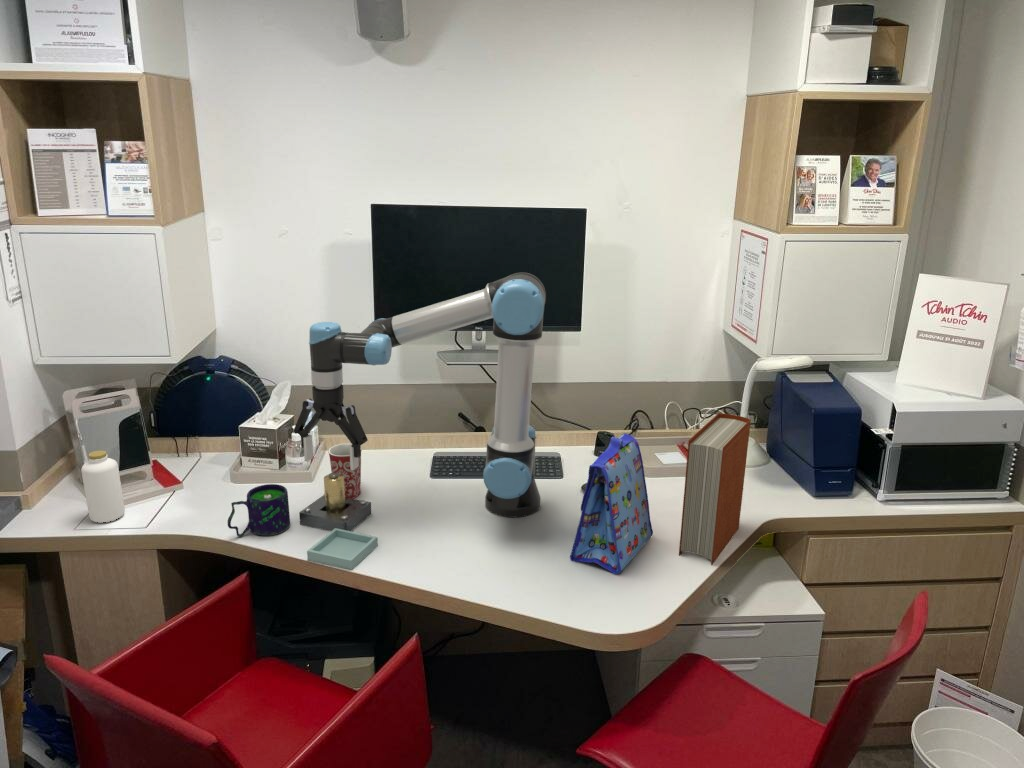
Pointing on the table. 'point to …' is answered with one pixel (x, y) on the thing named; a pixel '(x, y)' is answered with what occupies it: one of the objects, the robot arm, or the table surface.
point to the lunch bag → (614, 508)
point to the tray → (342, 548)
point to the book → (714, 485)
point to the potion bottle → (102, 488)
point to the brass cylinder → (334, 493)
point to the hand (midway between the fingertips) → (331, 464)
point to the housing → (335, 515)
